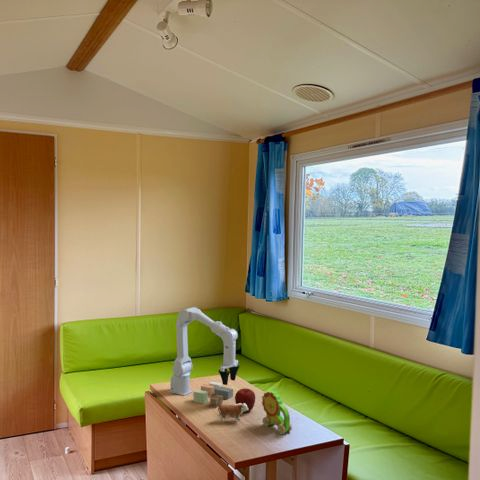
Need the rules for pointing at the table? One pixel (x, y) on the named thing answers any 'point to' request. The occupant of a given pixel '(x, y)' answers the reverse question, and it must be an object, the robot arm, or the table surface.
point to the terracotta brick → (208, 389)
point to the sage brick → (200, 396)
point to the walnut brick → (216, 401)
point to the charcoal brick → (224, 392)
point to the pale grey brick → (215, 384)
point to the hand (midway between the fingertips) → (228, 382)
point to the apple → (245, 398)
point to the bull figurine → (232, 410)
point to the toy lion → (275, 412)
